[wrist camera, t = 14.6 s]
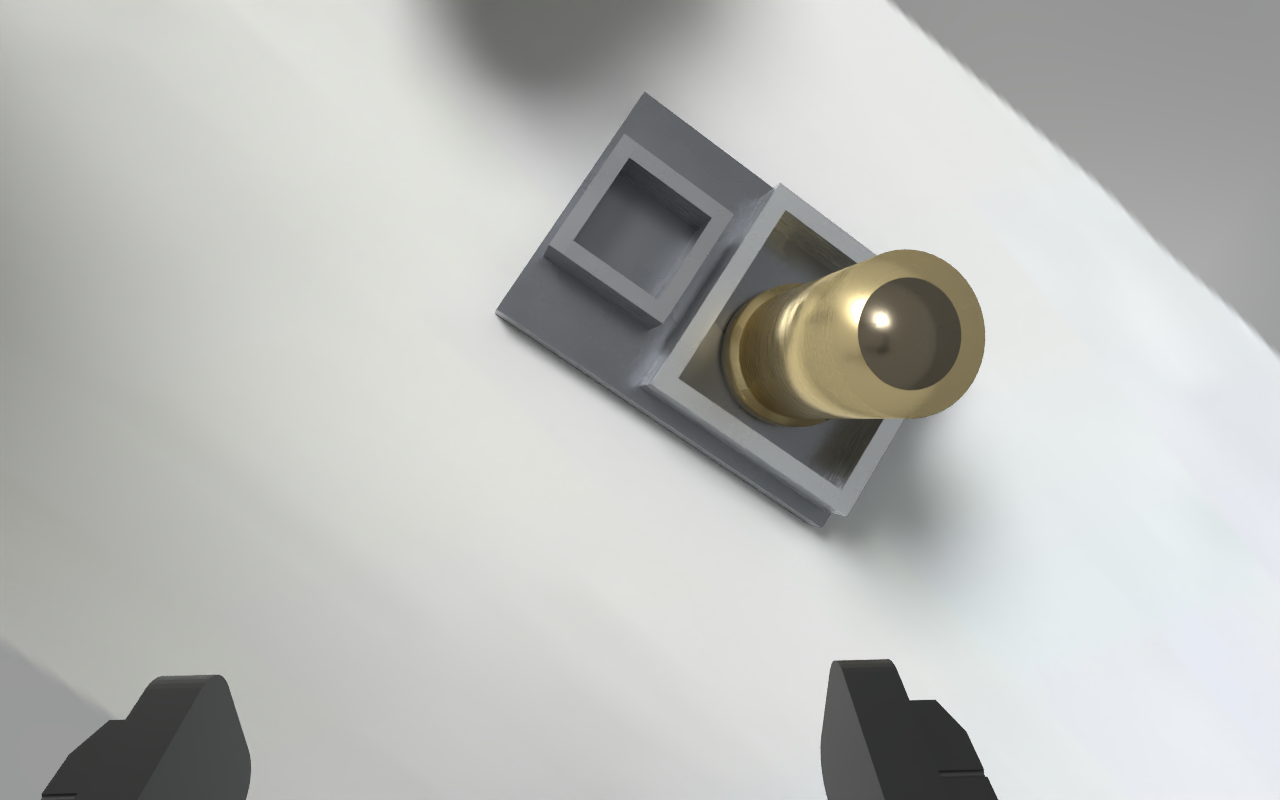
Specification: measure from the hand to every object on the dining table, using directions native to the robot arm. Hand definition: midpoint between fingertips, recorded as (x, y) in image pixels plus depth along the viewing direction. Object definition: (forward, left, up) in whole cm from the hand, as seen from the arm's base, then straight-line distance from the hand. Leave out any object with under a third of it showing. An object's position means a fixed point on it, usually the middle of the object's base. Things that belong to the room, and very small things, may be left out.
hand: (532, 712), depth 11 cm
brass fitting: (+6, +12, -19) cm, 23 cm away
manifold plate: (+3, +12, -20) cm, 24 cm away
